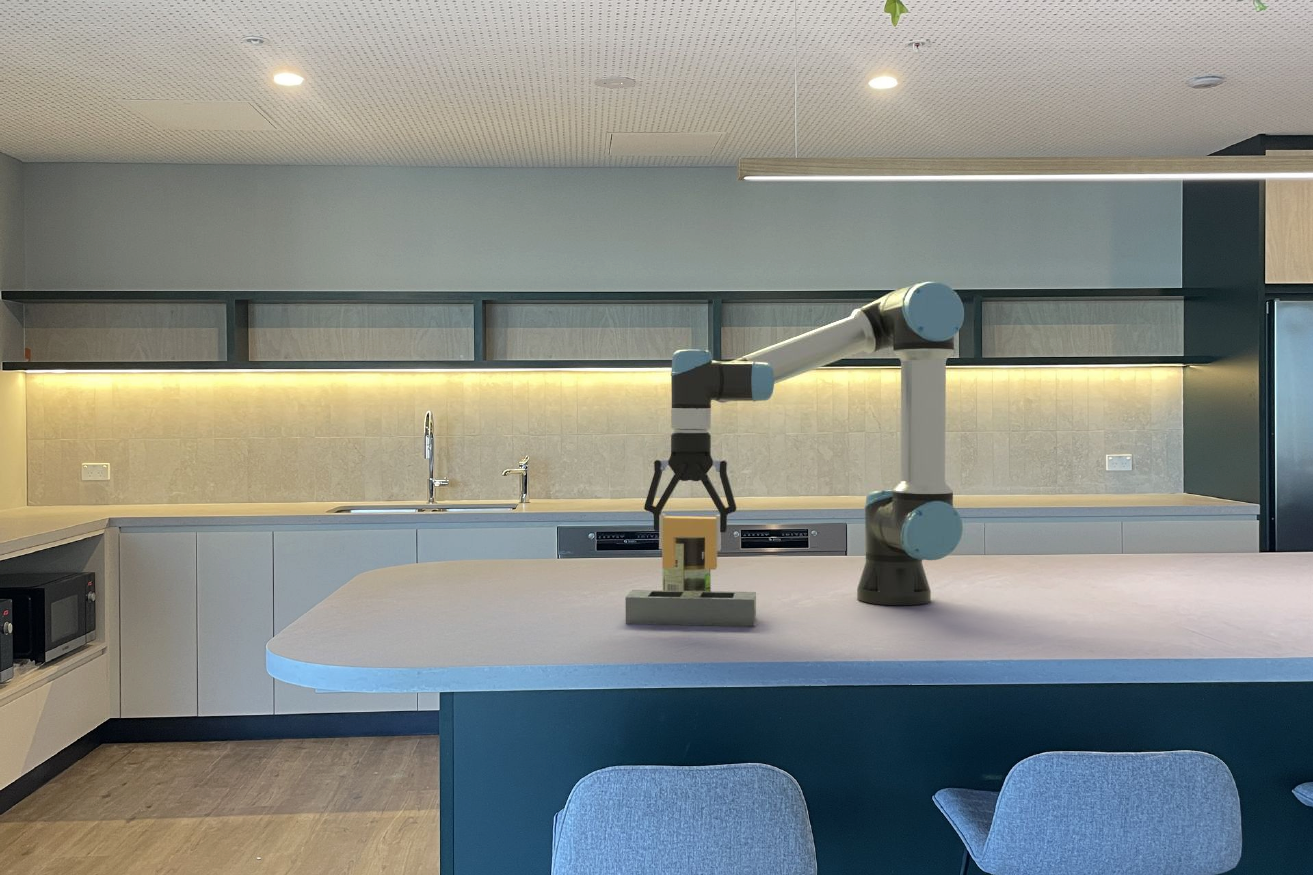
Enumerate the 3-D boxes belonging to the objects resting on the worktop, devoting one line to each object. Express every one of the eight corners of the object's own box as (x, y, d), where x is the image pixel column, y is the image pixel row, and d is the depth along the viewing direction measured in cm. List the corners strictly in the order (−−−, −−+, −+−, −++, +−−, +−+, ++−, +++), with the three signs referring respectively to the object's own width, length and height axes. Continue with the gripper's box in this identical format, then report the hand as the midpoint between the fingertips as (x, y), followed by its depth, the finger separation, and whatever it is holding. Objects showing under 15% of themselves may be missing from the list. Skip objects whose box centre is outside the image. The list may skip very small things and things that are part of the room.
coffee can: (714, 599, 227) (714, 532, 227) (707, 607, 217) (706, 538, 216) (666, 597, 229) (666, 532, 229) (657, 606, 219) (656, 537, 218)
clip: (717, 566, 204) (717, 516, 204) (715, 569, 200) (715, 518, 200) (665, 565, 205) (665, 516, 205) (662, 568, 201) (662, 517, 201)
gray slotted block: (755, 617, 206) (755, 591, 206) (754, 626, 197) (754, 599, 197) (632, 615, 209) (632, 589, 209) (625, 623, 200) (625, 597, 200)
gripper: (751, 431, 205) (750, 548, 205) (634, 431, 207) (634, 545, 208) (749, 432, 197) (749, 552, 198) (628, 431, 200) (628, 550, 200)
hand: (690, 549), depth 203 cm, fingers closed on clip, 10 cm apart
